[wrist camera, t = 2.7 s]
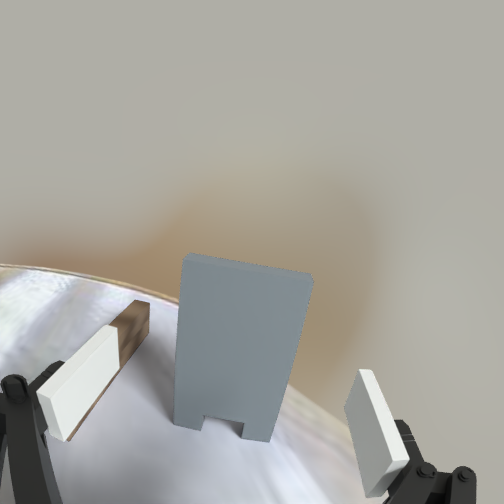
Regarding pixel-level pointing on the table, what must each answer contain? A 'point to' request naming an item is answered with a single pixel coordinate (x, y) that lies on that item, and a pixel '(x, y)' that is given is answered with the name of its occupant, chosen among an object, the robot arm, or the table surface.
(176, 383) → the slotted plate
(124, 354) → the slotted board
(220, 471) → the table surface
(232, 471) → the table surface
